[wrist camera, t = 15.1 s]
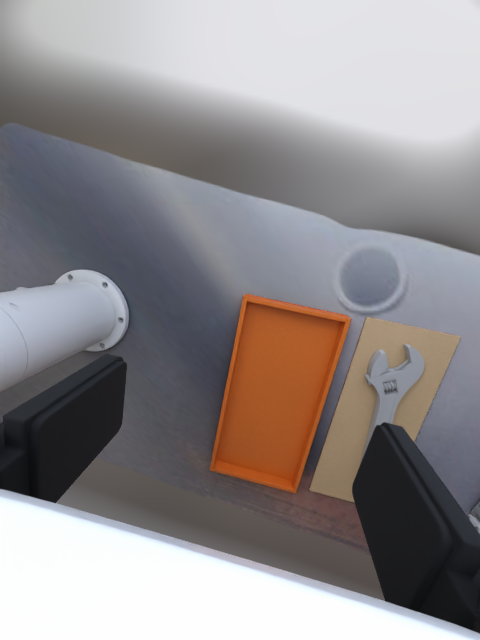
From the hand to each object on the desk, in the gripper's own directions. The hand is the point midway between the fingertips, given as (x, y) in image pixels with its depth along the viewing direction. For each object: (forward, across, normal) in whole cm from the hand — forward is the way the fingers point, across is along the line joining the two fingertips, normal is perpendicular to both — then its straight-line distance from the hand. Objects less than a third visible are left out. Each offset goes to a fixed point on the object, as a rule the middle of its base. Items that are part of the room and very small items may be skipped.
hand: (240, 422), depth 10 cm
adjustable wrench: (+28, -19, +15) cm, 37 cm away
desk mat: (+28, -20, +15) cm, 37 cm away
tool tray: (+28, -4, +15) cm, 32 cm away
